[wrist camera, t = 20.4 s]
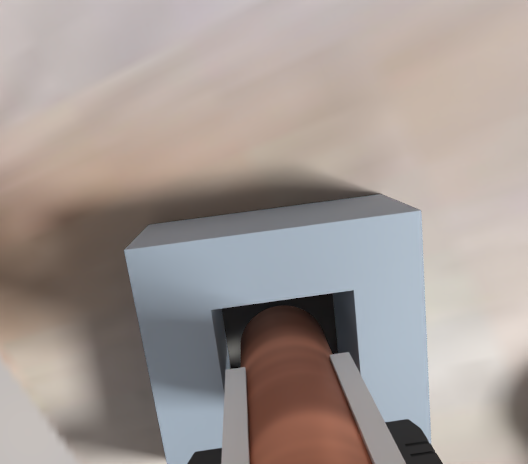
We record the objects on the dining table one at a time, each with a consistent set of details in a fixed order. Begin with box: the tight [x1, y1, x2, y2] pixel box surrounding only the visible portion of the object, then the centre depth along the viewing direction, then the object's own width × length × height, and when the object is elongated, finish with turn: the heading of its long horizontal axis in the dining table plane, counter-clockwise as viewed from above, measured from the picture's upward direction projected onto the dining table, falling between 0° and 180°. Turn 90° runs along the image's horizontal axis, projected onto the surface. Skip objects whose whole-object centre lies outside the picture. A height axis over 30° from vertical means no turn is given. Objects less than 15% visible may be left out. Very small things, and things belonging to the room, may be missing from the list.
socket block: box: [124, 194, 431, 464], centre depth 21 cm, size 12×12×5 cm
